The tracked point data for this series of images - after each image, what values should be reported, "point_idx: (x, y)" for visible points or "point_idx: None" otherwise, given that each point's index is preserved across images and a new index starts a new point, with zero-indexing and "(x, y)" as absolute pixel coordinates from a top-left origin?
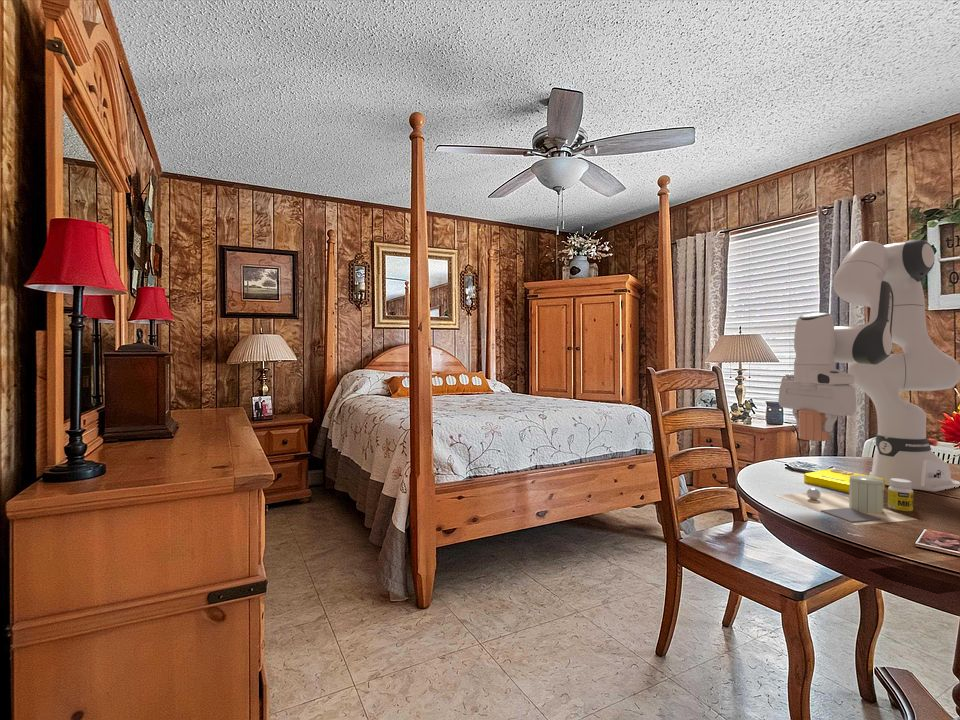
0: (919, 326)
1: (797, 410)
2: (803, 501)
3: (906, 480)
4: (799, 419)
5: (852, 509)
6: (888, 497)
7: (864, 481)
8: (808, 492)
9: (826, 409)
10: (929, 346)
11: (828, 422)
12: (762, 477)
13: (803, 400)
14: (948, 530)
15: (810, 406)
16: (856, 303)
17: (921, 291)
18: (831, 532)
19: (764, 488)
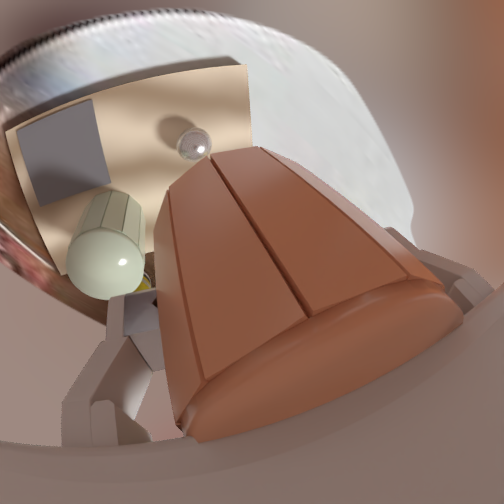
0: None
1: (465, 306)
2: (179, 103)
3: None
4: (372, 225)
5: (98, 184)
6: (136, 289)
7: (71, 247)
8: (194, 129)
9: (56, 495)
10: None
11: (88, 364)
12: (397, 178)
13: (491, 442)
14: (55, 295)
15: (354, 459)
16: None
17: None
18: (11, 75)
19: (341, 119)
